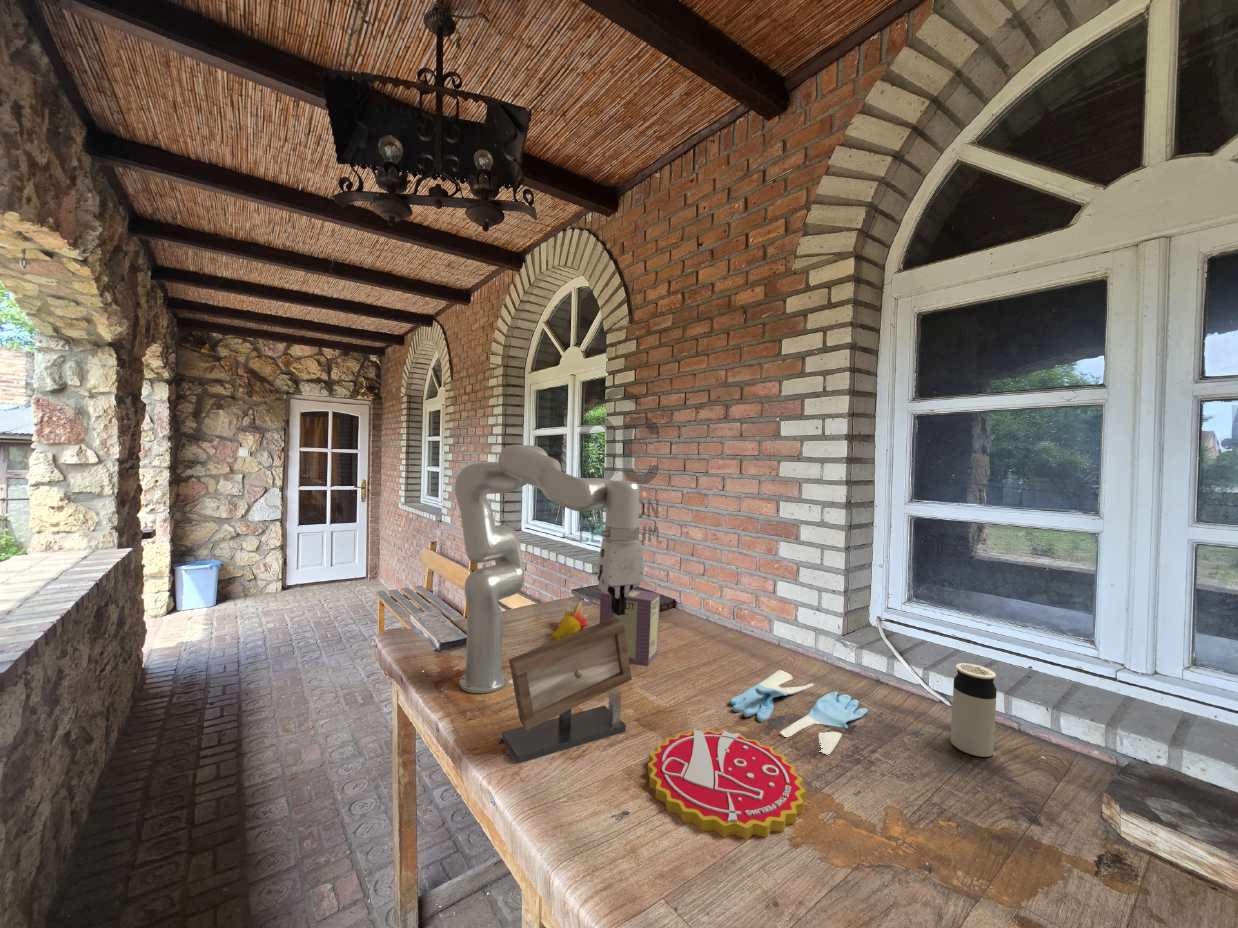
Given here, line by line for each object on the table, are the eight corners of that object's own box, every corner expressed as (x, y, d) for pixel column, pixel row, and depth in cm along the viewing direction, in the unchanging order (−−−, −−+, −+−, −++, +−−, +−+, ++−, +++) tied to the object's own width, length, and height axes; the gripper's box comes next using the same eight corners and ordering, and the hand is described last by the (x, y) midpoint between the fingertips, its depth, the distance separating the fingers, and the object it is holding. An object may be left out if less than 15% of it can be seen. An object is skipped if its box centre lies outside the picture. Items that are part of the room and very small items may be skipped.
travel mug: (980, 761, 109) (985, 679, 109) (943, 742, 116) (947, 665, 116) (1000, 753, 113) (1004, 673, 113) (962, 734, 120) (966, 660, 120)
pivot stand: (501, 738, 111) (504, 666, 111) (604, 711, 124) (606, 647, 124) (517, 763, 102) (520, 685, 102) (625, 731, 116) (628, 662, 116)
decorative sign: (658, 719, 117) (793, 739, 111) (657, 730, 117) (792, 751, 111) (637, 806, 88) (818, 840, 82) (636, 821, 88) (818, 856, 82)
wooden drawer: (519, 720, 107) (508, 659, 105) (622, 672, 120) (614, 617, 118) (527, 731, 103) (516, 667, 101) (633, 680, 116) (624, 623, 114)
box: (657, 655, 161) (659, 593, 161) (648, 665, 153) (650, 600, 152) (609, 645, 167) (611, 586, 167) (598, 655, 159) (600, 592, 159)
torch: (551, 658, 164) (577, 624, 188) (571, 651, 162) (595, 617, 186) (540, 636, 164) (567, 605, 188) (560, 628, 162) (585, 597, 186)
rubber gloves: (874, 708, 133) (876, 684, 133) (827, 759, 109) (829, 730, 109) (776, 674, 152) (777, 653, 152) (718, 711, 128) (719, 686, 128)
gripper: (601, 538, 109) (597, 623, 109) (657, 535, 116) (654, 614, 117) (585, 533, 115) (582, 613, 115) (639, 530, 123) (636, 605, 123)
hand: (618, 613), depth 116 cm, fingers closed
